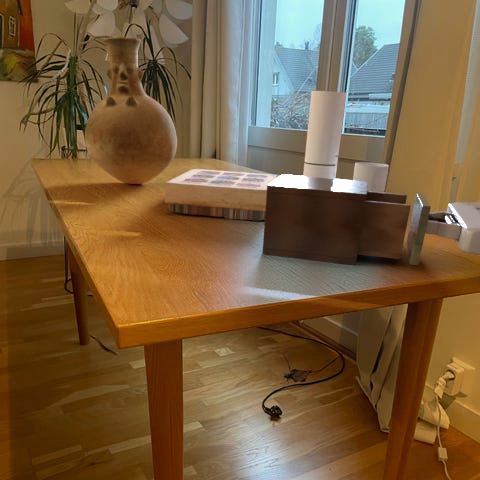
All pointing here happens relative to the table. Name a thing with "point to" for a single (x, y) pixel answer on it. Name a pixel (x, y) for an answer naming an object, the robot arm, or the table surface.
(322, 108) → the cylindrical container
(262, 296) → the table surface
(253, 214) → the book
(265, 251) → the cabinet
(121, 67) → the vase
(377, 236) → the drawer
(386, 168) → the mug
